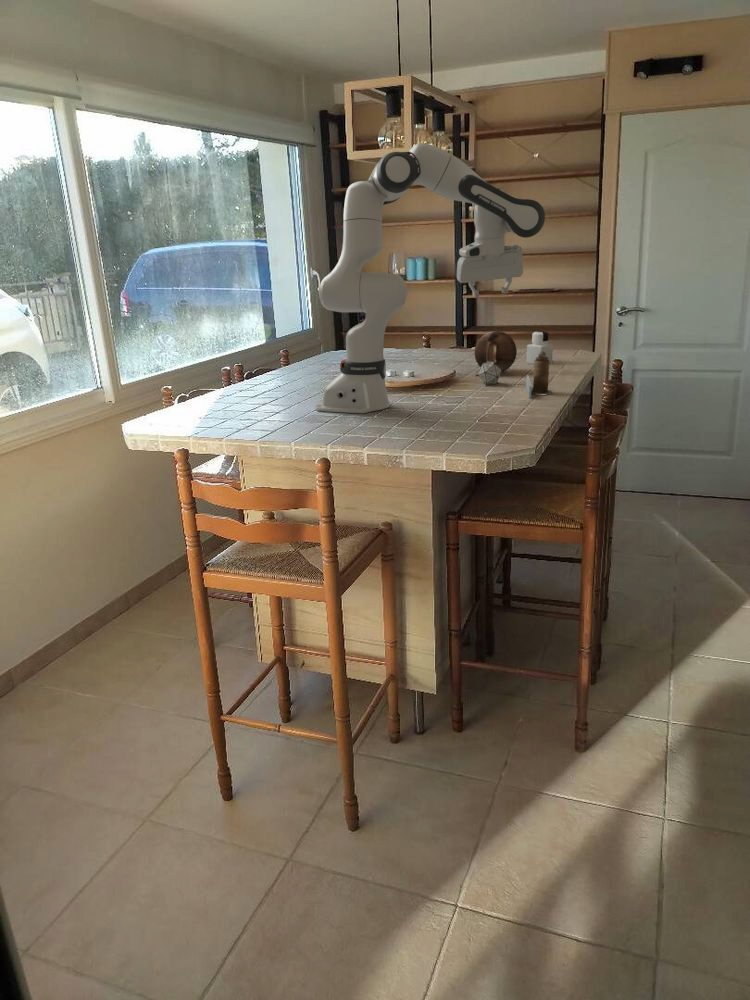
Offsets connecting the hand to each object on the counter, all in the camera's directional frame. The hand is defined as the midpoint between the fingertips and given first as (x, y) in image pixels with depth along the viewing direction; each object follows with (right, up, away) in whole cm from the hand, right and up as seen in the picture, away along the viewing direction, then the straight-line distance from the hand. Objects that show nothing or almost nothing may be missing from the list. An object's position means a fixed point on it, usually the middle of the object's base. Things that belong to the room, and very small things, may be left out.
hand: (490, 295), depth 232 cm
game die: (+4, -24, +25) cm, 35 cm away
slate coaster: (+17, -28, +10) cm, 35 cm away
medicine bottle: (+28, -10, +61) cm, 68 cm away
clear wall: (+14, -28, +11) cm, 33 cm away
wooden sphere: (+8, -17, +45) cm, 48 cm away
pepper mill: (+17, -28, +10) cm, 35 cm away
